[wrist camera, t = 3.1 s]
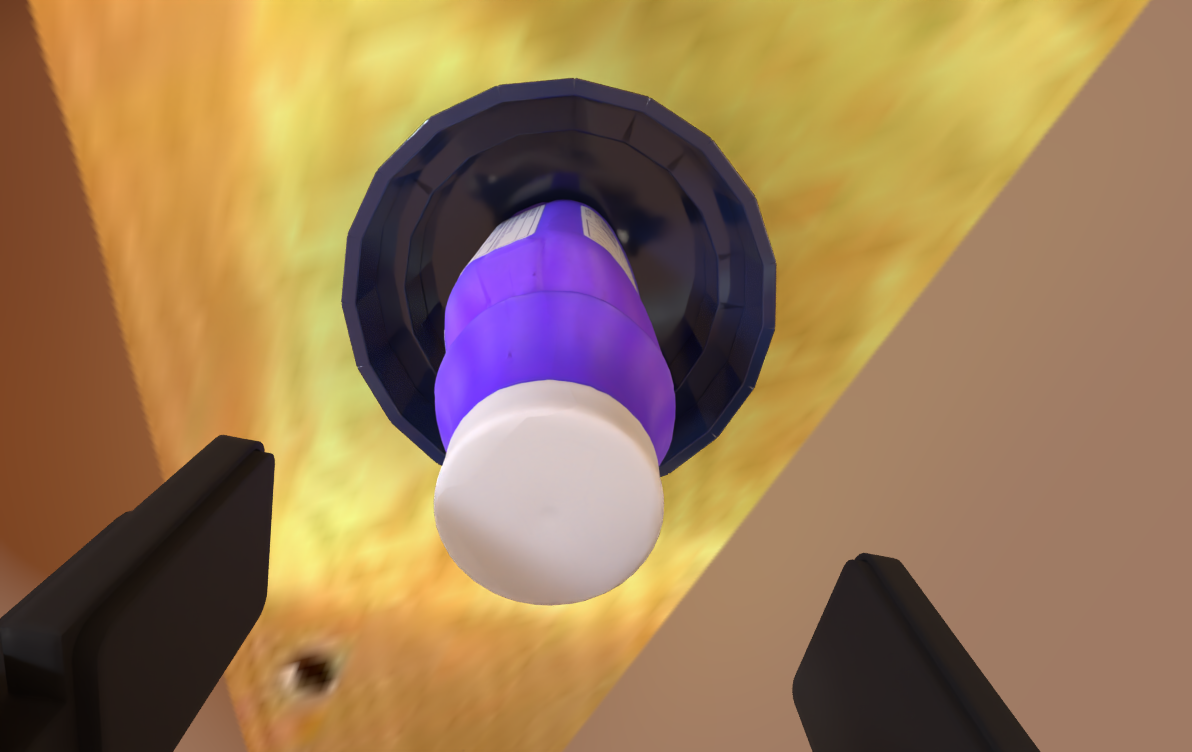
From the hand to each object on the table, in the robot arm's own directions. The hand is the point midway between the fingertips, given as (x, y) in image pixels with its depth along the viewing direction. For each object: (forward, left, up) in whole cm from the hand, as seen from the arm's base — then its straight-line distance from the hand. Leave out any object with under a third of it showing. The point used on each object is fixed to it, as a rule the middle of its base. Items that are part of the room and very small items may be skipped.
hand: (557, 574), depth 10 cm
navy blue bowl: (0, 0, -19) cm, 19 cm away
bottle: (0, 0, -19) cm, 19 cm away
